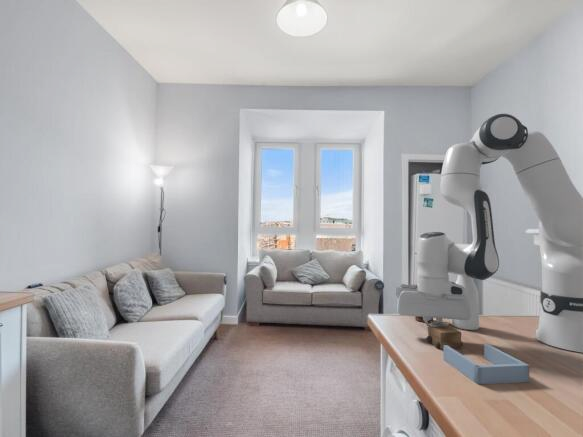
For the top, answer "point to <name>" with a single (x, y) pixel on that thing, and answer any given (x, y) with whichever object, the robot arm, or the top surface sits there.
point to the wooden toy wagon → (444, 335)
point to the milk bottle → (474, 304)
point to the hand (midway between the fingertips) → (432, 331)
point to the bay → (489, 366)
